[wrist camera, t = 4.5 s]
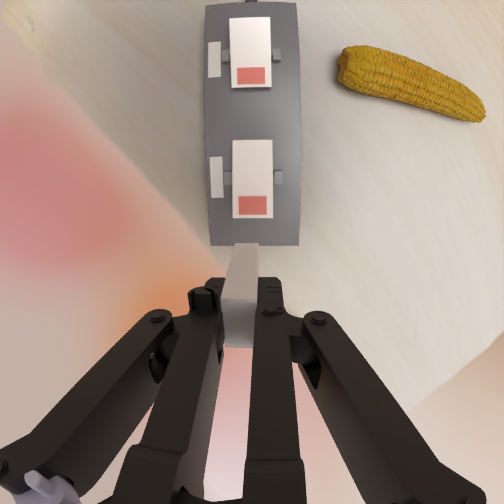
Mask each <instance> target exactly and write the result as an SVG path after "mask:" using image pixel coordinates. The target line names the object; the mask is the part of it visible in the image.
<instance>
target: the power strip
mask: <svg viewBox="0 0 504 504" xmlns="http://www.w3.org/2000/svg"><path fill="white" fill-rule="evenodd" d="M246 17H270V33H271V48H272V49H273V55H271V83H272V87H239V88H232V84H231V58H230V56H229V49H230V28H229V18H246ZM204 112H205V151H206V175H207V195H208V213H209V228H210V242H211V246H226V245H235V243H259V246H299V225H300V197H301V83H300V57H299V38H298V23H297V9H296V3H285V2H257V0H246V2H244V3H228V4H217V5H208V6H206V10H205V45H204ZM233 140H272V149H273V175H274V178H275V180H274V183H273V218H233V195H232V183H231V175H232V152H233Z"/></svg>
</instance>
